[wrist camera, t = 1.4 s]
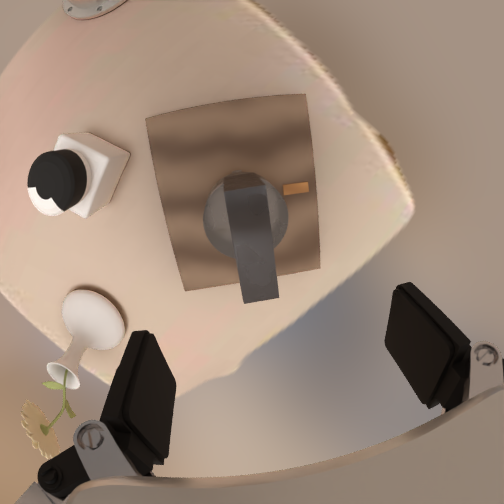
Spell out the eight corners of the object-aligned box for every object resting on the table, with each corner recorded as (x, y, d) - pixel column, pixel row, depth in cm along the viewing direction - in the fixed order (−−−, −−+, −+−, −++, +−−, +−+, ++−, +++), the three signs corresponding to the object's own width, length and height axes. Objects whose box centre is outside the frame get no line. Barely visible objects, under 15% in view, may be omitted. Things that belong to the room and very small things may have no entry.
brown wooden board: (149, 119, 28) (130, 115, 21) (300, 96, 28) (320, 86, 22) (186, 283, 37) (180, 313, 30) (315, 261, 37) (333, 287, 31)
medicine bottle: (88, 131, 27) (32, 135, 16) (132, 153, 29) (87, 164, 18) (68, 181, 29) (13, 205, 18) (109, 203, 31) (63, 237, 20)
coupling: (199, 175, 24) (183, 199, 15) (274, 163, 24) (304, 179, 15) (217, 267, 28) (216, 330, 19) (284, 255, 28) (312, 313, 19)
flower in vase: (63, 276, 34) (-25, 395, 12) (128, 294, 37) (66, 446, 14) (71, 337, 39) (17, 449, 16) (127, 354, 41) (93, 483, 19)
